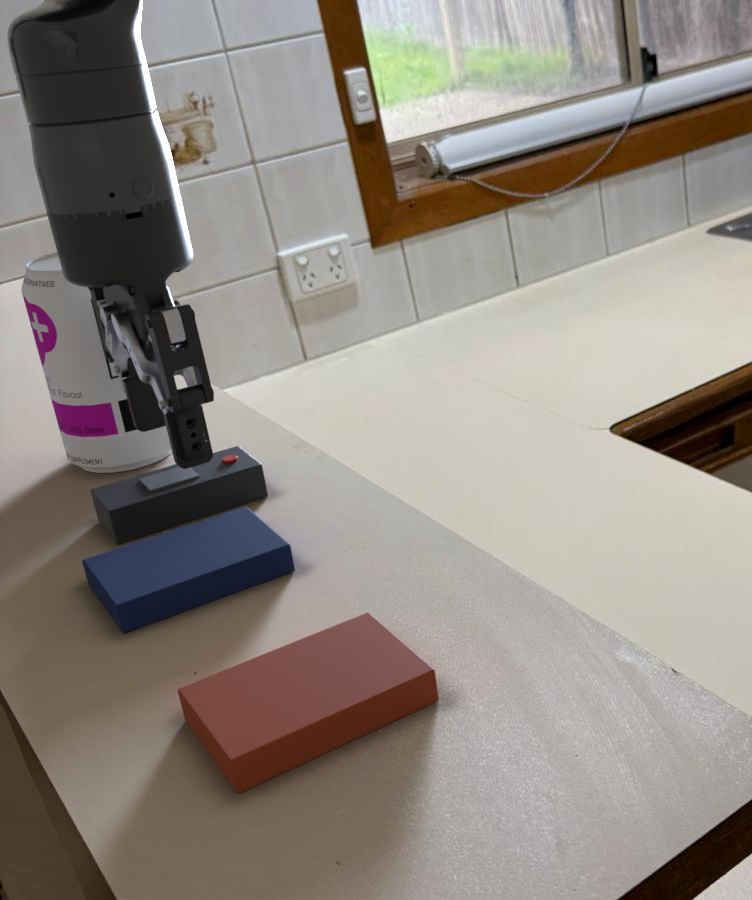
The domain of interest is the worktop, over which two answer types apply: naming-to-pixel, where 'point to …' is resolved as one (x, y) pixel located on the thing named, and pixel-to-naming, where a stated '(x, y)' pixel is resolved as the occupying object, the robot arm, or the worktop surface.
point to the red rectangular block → (306, 699)
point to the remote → (178, 494)
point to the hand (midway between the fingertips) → (173, 445)
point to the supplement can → (84, 376)
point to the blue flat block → (187, 568)
